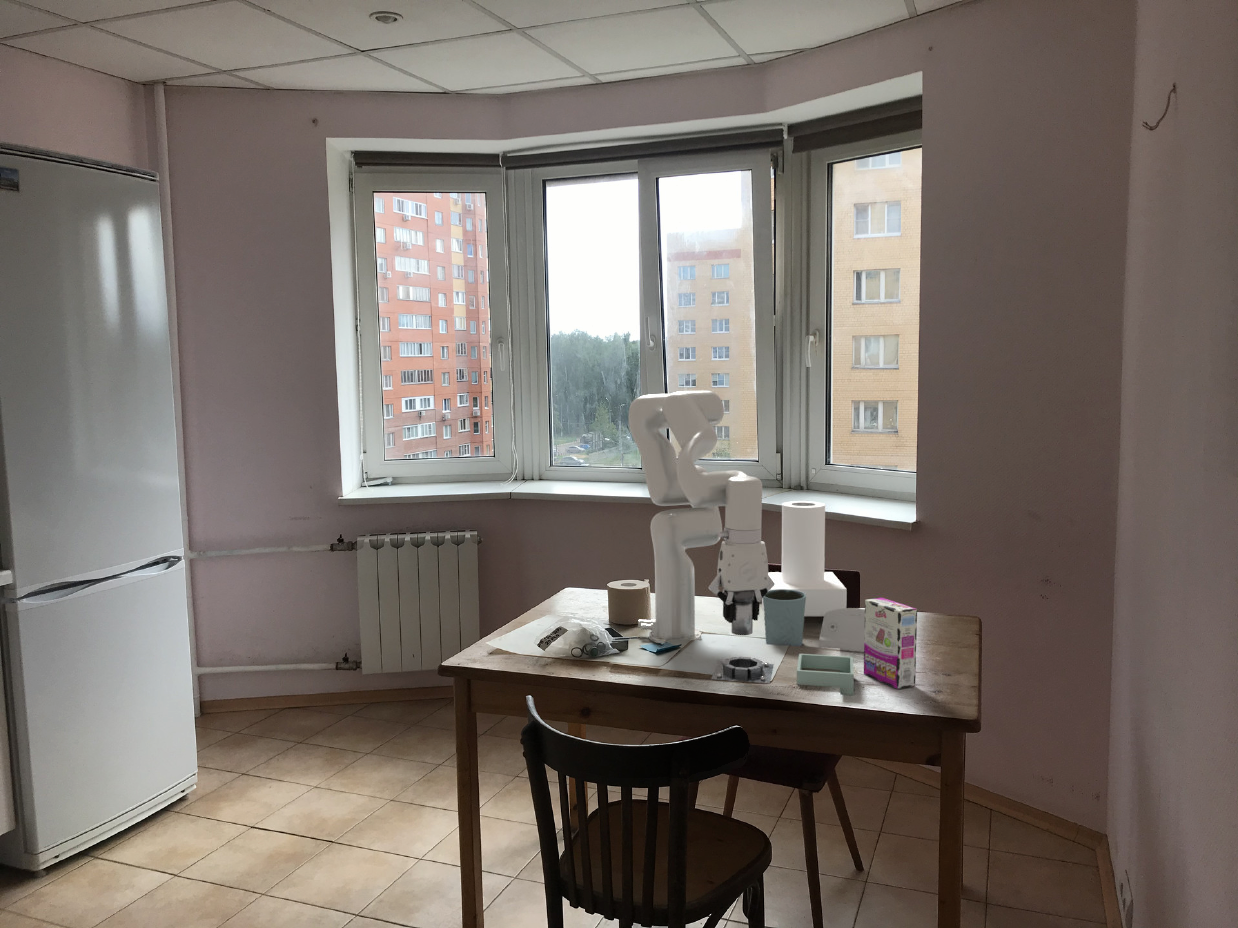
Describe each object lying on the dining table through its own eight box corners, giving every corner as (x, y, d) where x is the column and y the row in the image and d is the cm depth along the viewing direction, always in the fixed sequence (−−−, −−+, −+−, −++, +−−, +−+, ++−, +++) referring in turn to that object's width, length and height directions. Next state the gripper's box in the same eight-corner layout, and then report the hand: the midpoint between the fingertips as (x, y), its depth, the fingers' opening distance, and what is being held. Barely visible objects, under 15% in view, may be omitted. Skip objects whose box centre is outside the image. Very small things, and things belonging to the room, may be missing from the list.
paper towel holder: (770, 628, 232) (771, 510, 229) (762, 608, 251) (762, 499, 247) (846, 628, 231) (847, 509, 228) (831, 608, 250) (833, 498, 247)
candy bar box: (917, 686, 190) (918, 608, 188) (897, 690, 188) (899, 611, 186) (881, 670, 200) (882, 596, 198) (862, 673, 198) (863, 598, 196)
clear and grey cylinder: (728, 635, 193) (728, 591, 192) (731, 627, 198) (731, 584, 197) (753, 636, 192) (753, 592, 191) (755, 628, 197) (755, 586, 196)
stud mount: (711, 685, 191) (711, 670, 191) (718, 667, 203) (718, 652, 203) (769, 689, 189) (769, 674, 188) (773, 670, 200) (773, 655, 200)
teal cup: (803, 637, 224) (803, 589, 222) (807, 650, 214) (808, 599, 212) (761, 636, 225) (761, 588, 223) (763, 649, 215) (763, 599, 213)
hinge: (817, 647, 216) (819, 604, 218) (820, 648, 220) (822, 606, 223) (891, 654, 210) (893, 610, 212) (892, 655, 214) (894, 612, 217)
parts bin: (796, 691, 188) (796, 670, 187) (799, 672, 199) (799, 653, 198) (853, 694, 185) (853, 674, 185) (852, 676, 196) (853, 656, 195)
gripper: (711, 542, 187) (710, 628, 189) (788, 537, 191) (785, 621, 194) (698, 534, 194) (696, 617, 196) (772, 529, 199) (769, 611, 201)
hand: (741, 618), depth 195 cm, fingers closed on clear and grey cylinder, 4 cm apart
